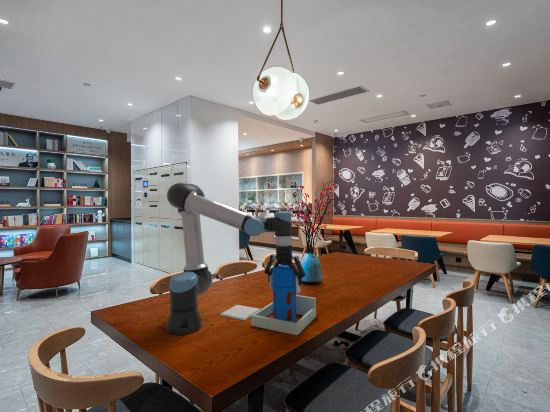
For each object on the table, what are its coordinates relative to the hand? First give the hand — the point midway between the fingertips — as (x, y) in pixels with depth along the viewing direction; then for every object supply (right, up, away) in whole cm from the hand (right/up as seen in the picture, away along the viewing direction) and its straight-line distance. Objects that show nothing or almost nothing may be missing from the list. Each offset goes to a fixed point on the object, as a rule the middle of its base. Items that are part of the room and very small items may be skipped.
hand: (284, 290), depth 138 cm
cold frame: (0, -14, 0) cm, 14 cm away
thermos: (0, -14, 0) cm, 14 cm away
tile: (-22, -14, +11) cm, 28 cm away
